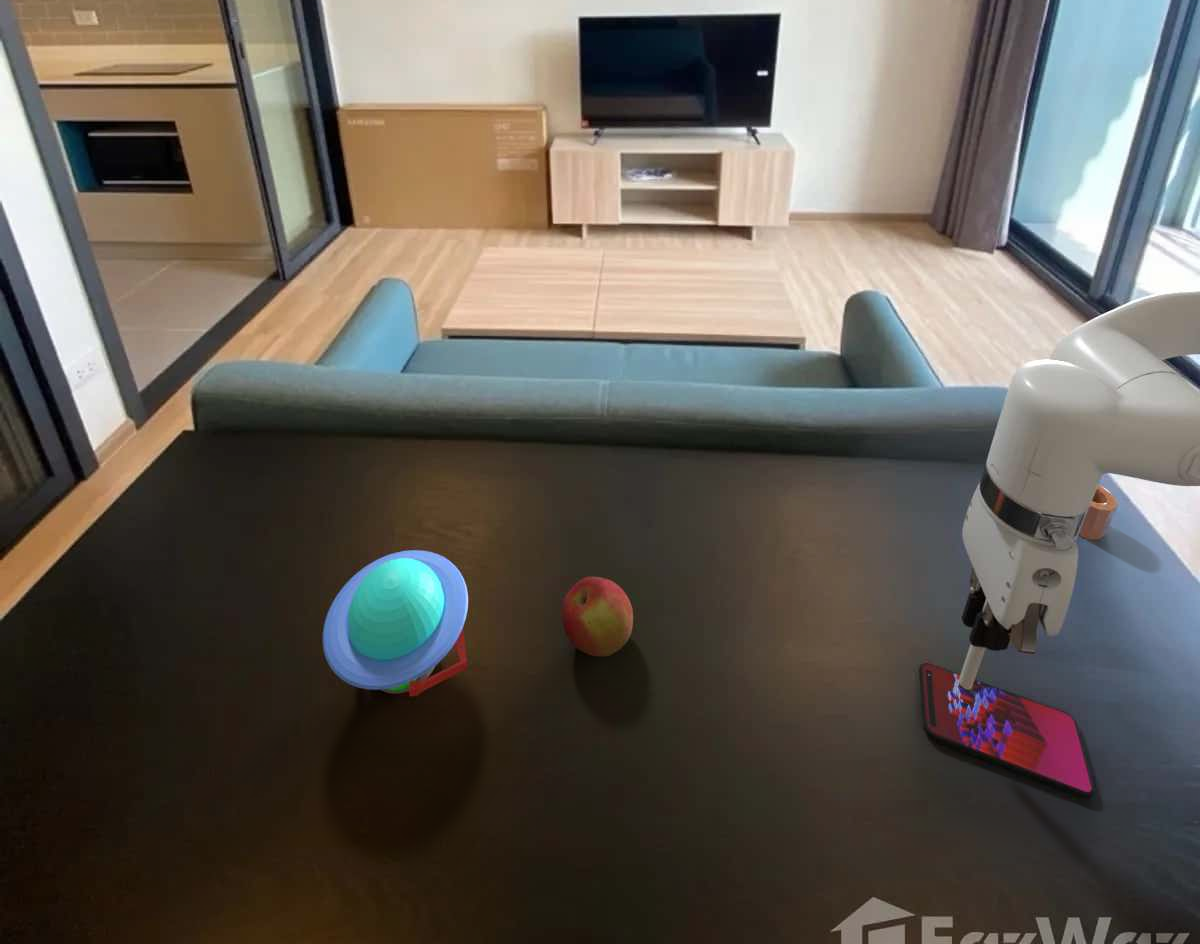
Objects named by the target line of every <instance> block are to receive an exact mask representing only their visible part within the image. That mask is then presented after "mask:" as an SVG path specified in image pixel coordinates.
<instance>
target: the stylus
mask: <svg viewBox="0 0 1200 944" xmlns="http://www.w3.org/2000/svg"><path fill="white" fill-rule="evenodd" d="M987 602H988V601H987V599H986V601H985V603H984V606H983V609H982V612H983V611H984V609H985V607H986V604H987ZM986 649H987V648H984V647H976V646H973V645H972V644H971V643H970V645H969V648H968V651H967V654H966V657H965V660H964V663H963V666H962V669H961V672H960V674H961V675H960V678H959V683H960V685H961V688H962V689H963V690H965V691H966V690H970V689H971V688H972V686H973V683H974V680H976V677H977V673H978V671H979V669H980V665H981V664H982V660H983V658H984V654H985V651H986Z"/></svg>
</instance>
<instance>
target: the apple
mask: <svg viewBox="0 0 1200 944" xmlns="http://www.w3.org/2000/svg"><path fill="white" fill-rule="evenodd" d="M561 623H562V627H563V630H564V632H565V635H566V637H567V638H568V640H569V642H570V643H571V644H572V645H573V647H575V648H576V649H577V650H579V651H580V652H582V653H583V654H586V655H589V656H592V657H608V656H612V655H613V654H616V653H617V652H618V651H620V650H621V649H622V648H623V647H624V646H625V645H626V644H627V642H628V641H629V639H630V638H631V635H632V631H633V626H634V611H633V606H632V604H631V601H630V599H629V597H628V595H627V594H626V592H625V591H624V590H623V588H622V587H621V586H619V585H618V584H617V583H616V582H614V581H612V580H611V579H609V578H604V577H600V576H587V577H583V578H582V579H580V580H579V581H578V582H576V583H575V584H574V585H573V586H572V587H570V589H569V591H567V593H566V595H565V597H564V600H563V603H562V607H561Z"/></svg>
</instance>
